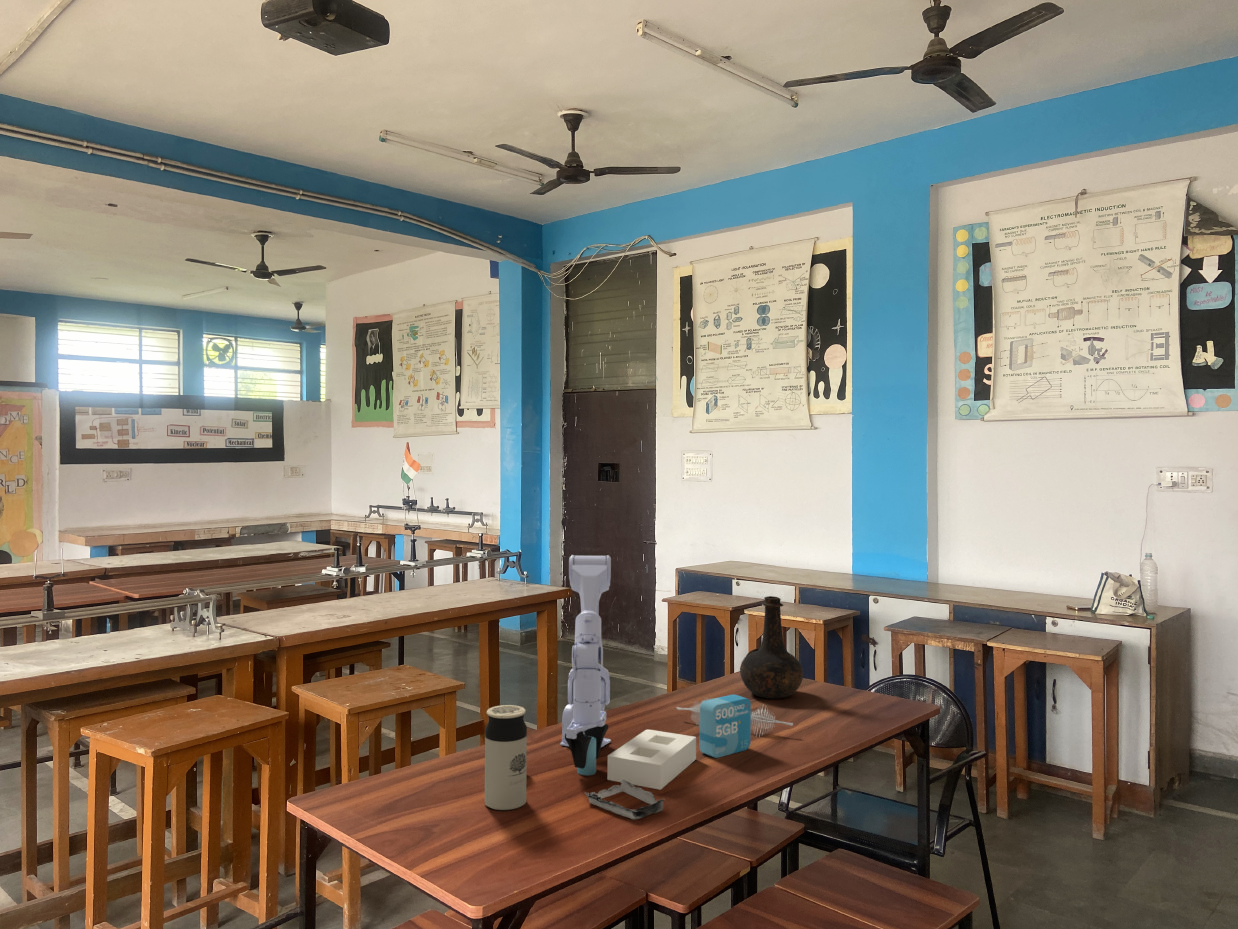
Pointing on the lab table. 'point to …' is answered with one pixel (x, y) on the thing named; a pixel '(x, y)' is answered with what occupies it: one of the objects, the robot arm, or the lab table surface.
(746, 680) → the glass bottle
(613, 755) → the hole board
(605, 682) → the robot arm
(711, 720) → the data package
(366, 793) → the lab table surface
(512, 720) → the travel mug
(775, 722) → the test tube brush
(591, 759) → the pin
